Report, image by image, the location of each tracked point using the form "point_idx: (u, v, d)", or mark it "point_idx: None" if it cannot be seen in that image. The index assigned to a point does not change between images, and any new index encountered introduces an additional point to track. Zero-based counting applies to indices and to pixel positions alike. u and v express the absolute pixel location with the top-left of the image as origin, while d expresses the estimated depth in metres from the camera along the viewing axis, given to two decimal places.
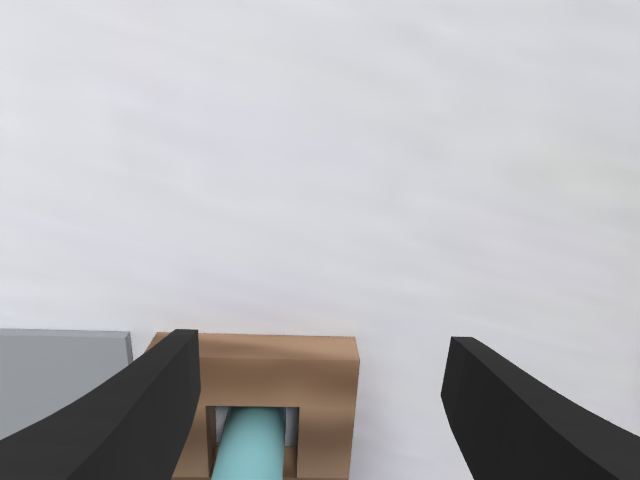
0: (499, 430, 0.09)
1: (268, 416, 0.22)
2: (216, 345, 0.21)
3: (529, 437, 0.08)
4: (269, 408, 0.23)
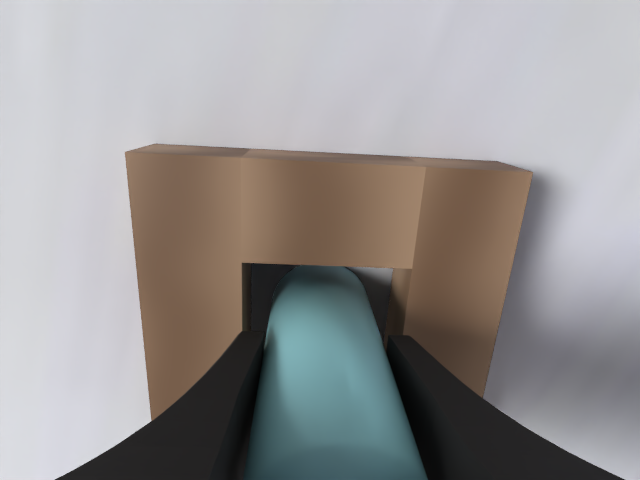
0: (418, 428, 0.09)
1: (274, 309, 0.13)
2: None
3: (438, 436, 0.08)
4: (275, 300, 0.13)
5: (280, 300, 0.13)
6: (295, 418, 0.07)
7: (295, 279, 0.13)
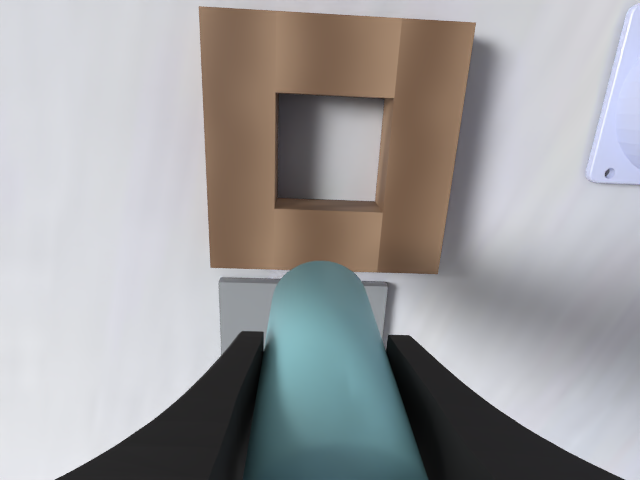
0: (419, 428, 0.09)
1: (274, 308, 0.13)
2: None
3: (438, 436, 0.08)
4: (275, 299, 0.13)
5: (280, 299, 0.13)
6: (295, 417, 0.07)
7: (295, 278, 0.13)
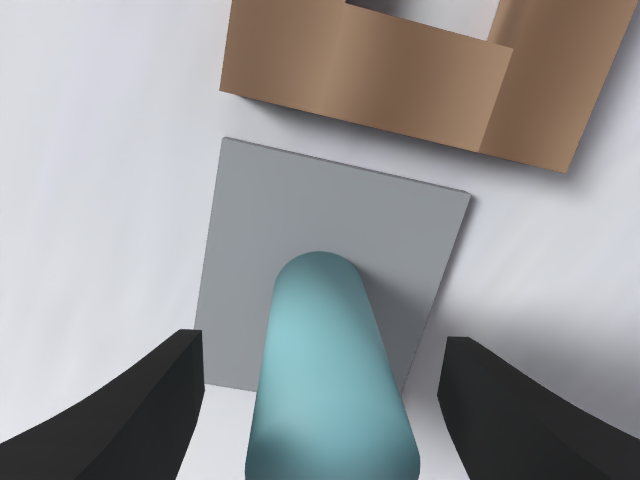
0: (494, 429, 0.09)
1: (276, 295, 0.13)
2: None
3: (524, 437, 0.08)
4: (277, 287, 0.14)
5: (282, 286, 0.14)
6: (295, 383, 0.08)
7: (295, 267, 0.14)
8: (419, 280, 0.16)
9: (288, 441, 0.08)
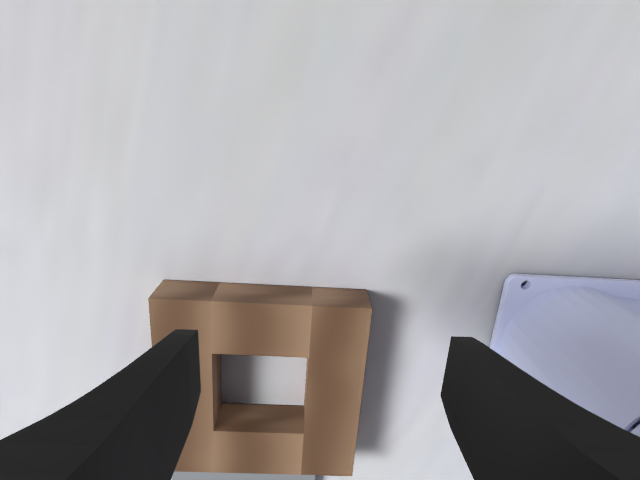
0: (499, 429, 0.09)
1: None
2: None
3: (529, 437, 0.08)
4: None
5: None
6: None
7: None
8: None
9: None
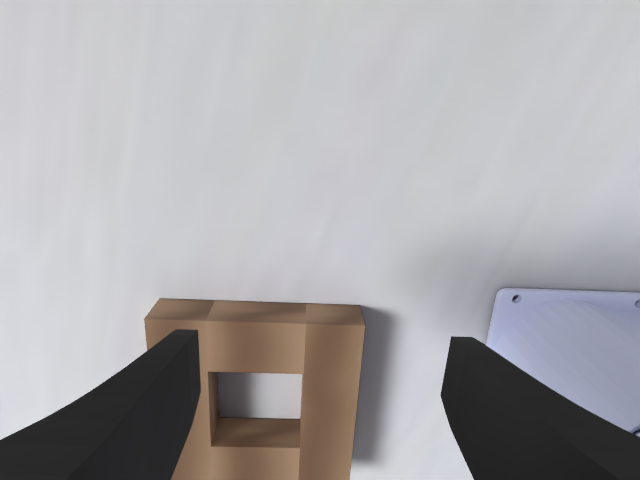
0: (499, 430, 0.09)
1: None
2: None
3: (529, 437, 0.08)
4: None
5: None
6: None
7: None
8: None
9: None
